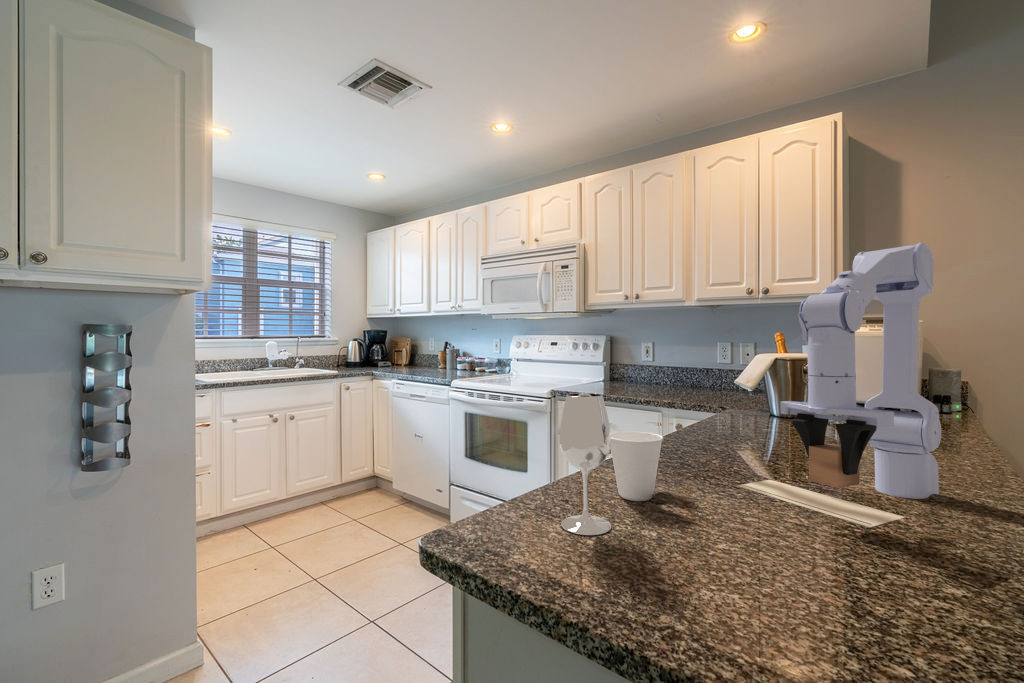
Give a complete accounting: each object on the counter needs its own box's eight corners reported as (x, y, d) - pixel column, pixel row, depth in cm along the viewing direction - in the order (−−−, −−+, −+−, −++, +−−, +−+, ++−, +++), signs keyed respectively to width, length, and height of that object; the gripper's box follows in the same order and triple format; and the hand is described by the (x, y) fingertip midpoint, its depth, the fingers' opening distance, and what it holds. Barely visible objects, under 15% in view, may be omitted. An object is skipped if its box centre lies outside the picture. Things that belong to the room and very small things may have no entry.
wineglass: (617, 521, 73) (615, 393, 73) (605, 540, 65) (603, 398, 66) (569, 513, 76) (568, 391, 76) (553, 531, 69) (551, 396, 69)
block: (848, 474, 72) (848, 442, 72) (877, 481, 68) (877, 447, 68) (808, 480, 68) (808, 446, 68) (837, 488, 64) (837, 451, 64)
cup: (667, 507, 79) (666, 442, 79) (608, 503, 81) (607, 440, 81) (660, 489, 88) (660, 431, 89) (607, 486, 90) (607, 430, 91)
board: (770, 487, 89) (769, 479, 89) (905, 527, 69) (905, 517, 69) (736, 493, 85) (736, 485, 85) (869, 537, 65) (869, 527, 65)
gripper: (766, 374, 72) (768, 461, 72) (870, 379, 59) (873, 487, 59) (796, 372, 75) (798, 457, 75) (902, 377, 62) (904, 480, 62)
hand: (833, 470), depth 67 cm, fingers closed on block, 4 cm apart
